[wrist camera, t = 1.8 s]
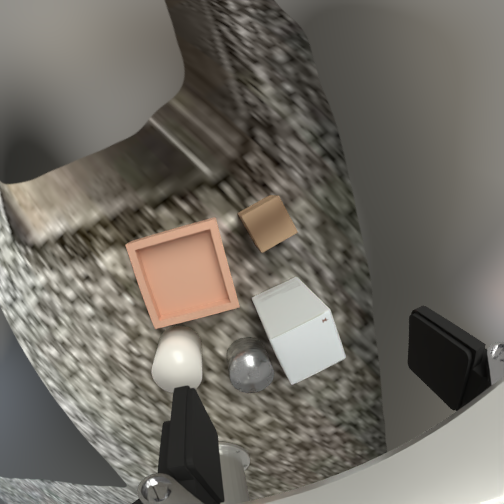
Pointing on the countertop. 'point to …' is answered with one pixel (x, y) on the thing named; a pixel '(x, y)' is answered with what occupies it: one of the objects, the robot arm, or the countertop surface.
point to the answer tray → (183, 273)
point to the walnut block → (267, 222)
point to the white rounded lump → (178, 359)
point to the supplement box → (299, 329)
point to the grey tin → (249, 365)
